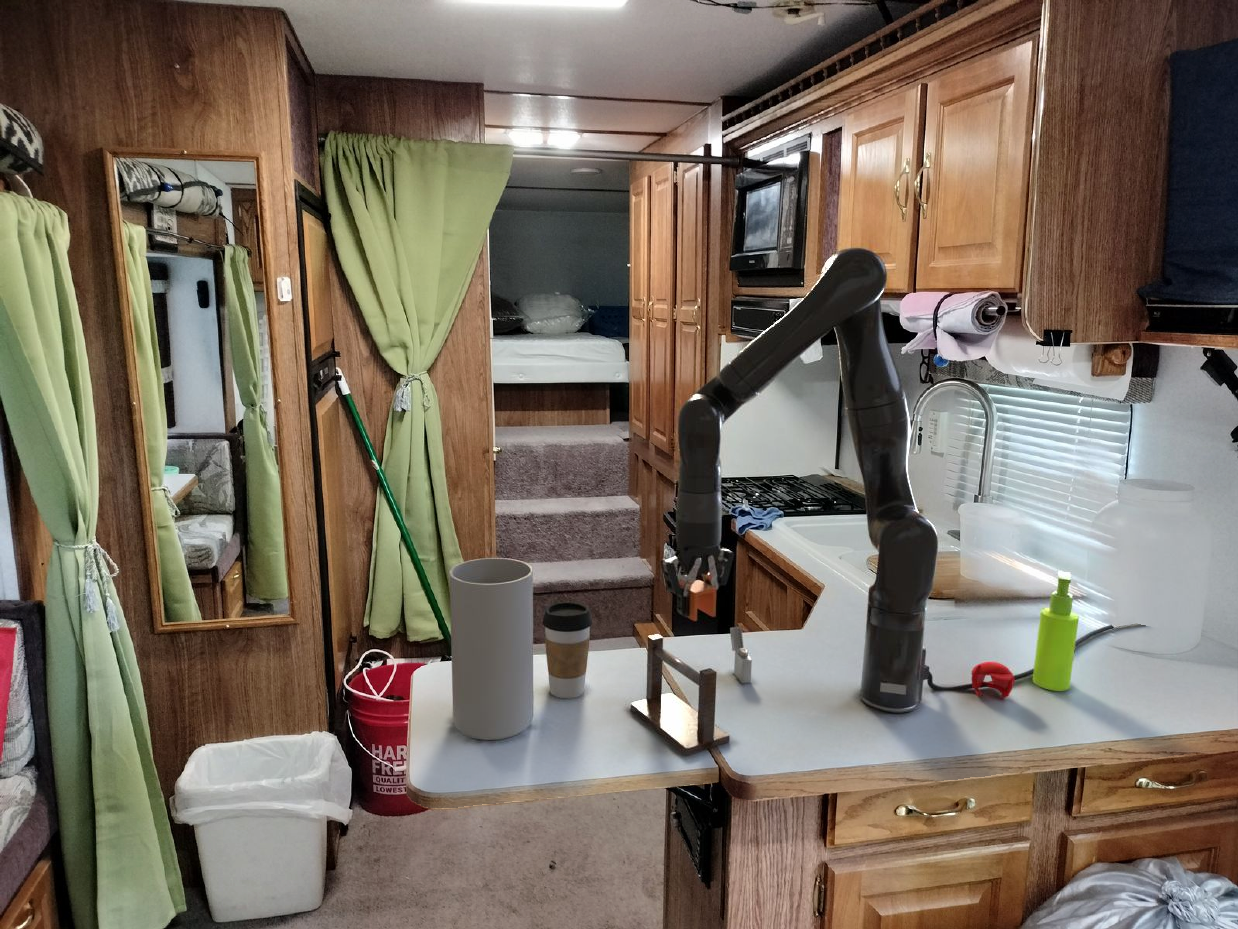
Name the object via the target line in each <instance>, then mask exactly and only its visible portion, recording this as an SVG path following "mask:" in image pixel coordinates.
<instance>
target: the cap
mask: <svg viewBox="0 0 1238 929" xmlns="http://www.w3.org/2000/svg"><path fill="white" fill-rule="evenodd" d="M972 668H973V669H972V670H971V684H972V687H973V690H974V692H975V694H976V696H978V697H981V696H982V692H981V690H980V689H981V688H980V686H981V684H982V683H986V684H987V687H986V688H990V689H994V690H996V691H998V692H1000V698H1001V699H1002V700H1003V699H1006V698H1008V697H1010V694H1011V692H1012V690H1013V689H1014V685H1015V681H1014V674H1013V673H1012V671H1011V670H1010V669H1009V668H1008V667H1007V666H1006V665H1005V664H1002V663H1000V662H997V661H985V662H981V663H978V664H976V665H975V666H974V667H972ZM986 676H990V679H991V681H993V683H991V682H989V681H985V678H986Z"/></svg>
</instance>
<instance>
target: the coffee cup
mask: <svg viewBox="0 0 1238 929" xmlns="http://www.w3.org/2000/svg"><path fill="white" fill-rule="evenodd" d="M541 622H542V626H543V627H544V631H545V632H544V635H543V636H544V646H545V655H546V664H547V672H548V688H549V692H550V694H551V695H552V696H554V697H556V698H559V699H573V698H574V699H575V698H578V697H580V696H581V695H583V694H584V692H585V687H586V676H587V675H586V674H587V668H588V659H589V658H588V657H589V649H590V642H591V641H590V640H591V632H590V630H591V629H590V628H591V626H592V625H593V617H592V615H591V609H590V607H589V606H588V605H586V604H583V603H580V602H577V601H560V602H559V601H558V602H554V603H551V604H549V605H547V606H546V607H545V610H544V615H543V617H542V621H541Z"/></svg>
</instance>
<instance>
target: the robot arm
mask: <svg viewBox="0 0 1238 929" xmlns="http://www.w3.org/2000/svg"><path fill="white" fill-rule="evenodd" d="M887 282H888V271H887V267H886V265H885V262H884V261H883V259H882V258H881V257H880V256H879V255H878V254H877V253H875V252H874V251H872V250H870V249H867V248H863V247H850V248H843V249H841V250H838V251H836V252H835V253H833V254H832V255H831V256H830V257H829V258H828V259H827V260H826V261H825V264H824V265H823V267H822V270H821V273H820V278H819V280H818V281H817V282H816V283H815V285H814V286H813V287H812V288H811V290H810V291H809V292H808V293H807V294H806V295H805V296H804V297H803V298H802V299H801V300H800V301H799V302H798V303H797V304H796V305H795V306H794V307H793V308H792V309H791V310H790V311H788V312H787V313H786V314H785V315H784V316H783V317H782V318H780V319H779V320H777V321H776V322H774V323H773V325H771V326H770V327H768V328H767V329H765V330H764V331H762V333H760V334H759V335H758V336H757V337H755V338H754V339H752V340H751V342H749V343H748V344H747V345H746V346H745V347H744V348H742V350H740V351H739V352H738V353H737V354H735V356H734V357H733V358H732V359H731V360H729V362H728V363H726V364H725V366H724V367H723V368H722V369H721V370H720V371H719V373H718V374H717V375H716V376H714V377H713V378H711V379H710V380H708V381H707V383H705V384H703V386H702V387H700V388H699V389H698V390H697V391H695V393H693V394H692V395H691V396H690V397H689V398H688V399H687V400H686V401H685V402H684V403H683V405H682V406H681V408H680V409H679V412H678V417H677V441H678V442H677V443H678V452H679V462H678V463H679V464H678V484H677V485H678V486H677V495H676V506H675V507H676V508H675V541H676V550H675V553H674V556H672V557H670V558H668V559H666V558H661V560H660V562H659V563H660V568H661V572H662V575H663V578H664V583H665V587H666V590H667V591H669V592H671V593H673V594H674V595H676V610H677V612H678V613H679V615H680V616H682V617H684V618H688V616H689V615H690V596H689V594H690V590H691V586H692V584H694V582H695V581H696V580H697V576H700V575H701V577H702V579H703V580H702V581H703V582H705V583H707V584H709V585H711V586H712V587H714V588H716V591H718V589H719V587H721V586H726V585H727V583H728V580H729V577H730V572H731V569H732V564H733V561H734V558H735V553H734V552H733V551H731V549H727V548H726V547H722V548H721V547H720V544H721V542H722V519H723V518H722V517H723V516H722V515H723V499H722V498H723V497H722V460H721V458H720V456H721V455H720V454H721V441H722V440H721V439H722V426H723V425H724V424H725V423H726V422H727V421H728V420H729V419H731V417H732V416H733V415H734V414H735V413H736V412H737V411H739V409H740V408H742V406H744V405H745V404H748V403H750V402H752V401H753V400H754V399H755V398H757V397H758V396H759V394H761V393H762V392H763V391H765V390H766V389H767V388H768V387H769V386H770V385H771V384H772V383H773V382H775V381H776V379H778V378H779V377H780V376H781V375H782V374H783V373H785V371H786V370H787V369H789V367H790V366H792V365H793V364H794V363H795V362H796V361H797V360H798V359H799V358H800V357H801V356H802V355H803V354H804V353H806V352H807V351H808V350H809V349H810V348H812V346H813V345H814V344H816V343H817V342H818V341H819V340H820V339H822V338H823V337H824V336H826V335H827V334H828V333H830V331H832V330H833V329H834V331H835V335H836V336H835V337H836V339H837V346H838V351H839V352H838V353H839V368H840V376H841V385H842V392H843V397H844V405H845V412H846V416H847V421H848V427H849V432H850V435H851V440H852V443H853V447H854V451H855V455H856V456H855V457H856V459H857V464H858V467H859V470H860V473H861V478H862V482H863V490H864V498H865V510H866V523H867V533H868V538H869V541H870V543H871V545H872V548H873V549H874V550H875V551H876V552H877V554H878V555H877V565H876V575H875V580H874V581H872V582H871V583H870V584H869V587H868V593H867V594H868V595H867V609H866V622H865V635H864V645H863V646H864V647H863V656H862V657H863V658H862V671H861V681H860V682H861V683H860V691H859V697H860V700H861V701H862V702H863V703H864V704H866V705H867V706H869V707H871V708H873V709H876V710H879V711H882V712H886V713H892V714H893V713H895V714H896V713H897V714H899V713H900V714H902V713H903V714H904V713H909V712H913V711H915V710H916V709H917V708H918V706H919V703H920V702H922V700H923V698H922V697H923V688H924V681H926V680H927V685H928V687H929V688H930V689H932V690H934V691H952V692H953V691H955V692H956V691H958V692H959V691H961V692H962V691H965V690H966V691H967V690H972V689H973V690H974V688H973V687H972V683H966V684H961V685H956V686H940V685H937V684H935V683H934V682H933V681H934V680H933V679H934V678H933V674H932V673H931V671H930V665H927V664H926V657H927V656H926V655H927V649H926V648H925V646H924V640H925V639H924V638H925V630H926V619H927V618H926V617H927V607H928V599H929V597H930V596H931V594H932V592H933V588H934V583H935V576H936V568H937V562H938V553H939V552H938V550H939V549H938V548H939V539H938V533H937V530H936V528H935V526H934V525H933V523H931V521H930V520H928V519H927V518H926V517H925V516H923V514H921V513H920V512H919V511H918V508H917V505H916V502H915V498H914V494H913V491H912V487H911V483H910V478H909V470H908V469H909V468H908V465H909V464H908V462H909V453H910V446H911V445H910V443H911V419H910V414H909V407H908V402H907V396H906V391H905V387H904V384H903V380H902V378H901V375H900V371H899V368H898V365H897V363H896V360H895V357H894V355H893V352H892V349H891V347H890V344H889V342H888V338H887V336H886V332H885V327H884V322H883V321H884V320H883V313H882V312H883V311H882V304H881V295H882V294H883V293H884V290H885V288H886V285H887ZM678 565H679V568H678ZM1111 630H1115V628H1114V627H1113V626H1112V624H1109V625H1106V626H1102V627H1099V628H1096V629H1095V630H1092V631H1090V632H1088V633H1087V634H1084V635H1083V636H1081V637H1080V638H1078V639H1076V642H1075V648H1077V647H1078V646H1080V645H1081V644H1082V643H1084V642H1085V641H1087V640H1089V639H1090V638H1092V637H1094V636H1096V635H1099V634H1101V633H1104V632H1107V631H1111ZM1033 672H1034V668H1032V669H1029V670H1026V671H1024V672H1021V673H1019V674H1018V673H1017V674H1015V675H1014V674H1013V676H1014V682H1015V681H1018V680H1022V679H1024V678H1028V677H1030V676H1033ZM988 682H991V683H993V681H992V680H989V681H988ZM981 688H988V687H987V684H986V683H982V684H981V686H980V688H979V689H981Z"/></svg>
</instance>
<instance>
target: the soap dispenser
mask: <svg viewBox="0 0 1238 929" xmlns="http://www.w3.org/2000/svg"><path fill="white" fill-rule="evenodd" d="M1056 575H1057V587H1056V590H1054V591H1052V592H1051V593H1050V601H1049V607H1045V608H1042V609H1041V610H1040V615H1039V623H1038V632H1037V638H1036V639H1037V640H1036V648H1035V655H1034V656H1035V657H1034V664H1033V669H1034V672H1033V674H1032V682H1033V683H1034V684H1035V685H1037V686H1038V687H1040V688H1042V689H1046V690H1050V691H1054V692H1055V691H1056V692H1063V691H1068V690H1069V689H1070V687H1071V680H1072V679H1071V678H1072V671H1073V662H1074V656H1075V648H1076V647H1075V642H1076V641H1077V633H1078V627H1079V618H1080V617H1079V615H1078V614H1077V613H1075V612H1073V611H1072V610H1073V602H1074V601H1073V600H1074V596H1073V594H1071V593H1070V592H1069V587H1070V584H1071V583H1072V577H1071V573H1070V572H1067V571H1060V570H1059V571H1058V570H1057V572H1056Z"/></svg>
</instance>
